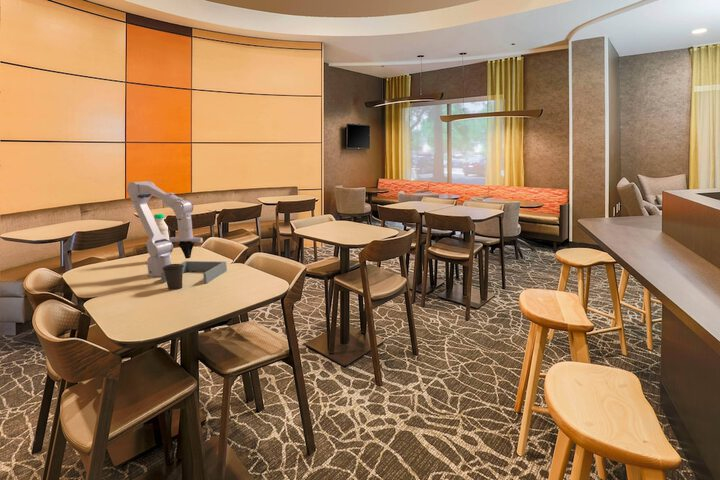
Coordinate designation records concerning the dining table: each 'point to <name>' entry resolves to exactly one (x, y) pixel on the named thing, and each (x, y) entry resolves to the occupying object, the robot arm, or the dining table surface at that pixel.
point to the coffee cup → (173, 276)
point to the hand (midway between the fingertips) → (188, 257)
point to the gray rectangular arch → (203, 269)
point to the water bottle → (162, 225)
